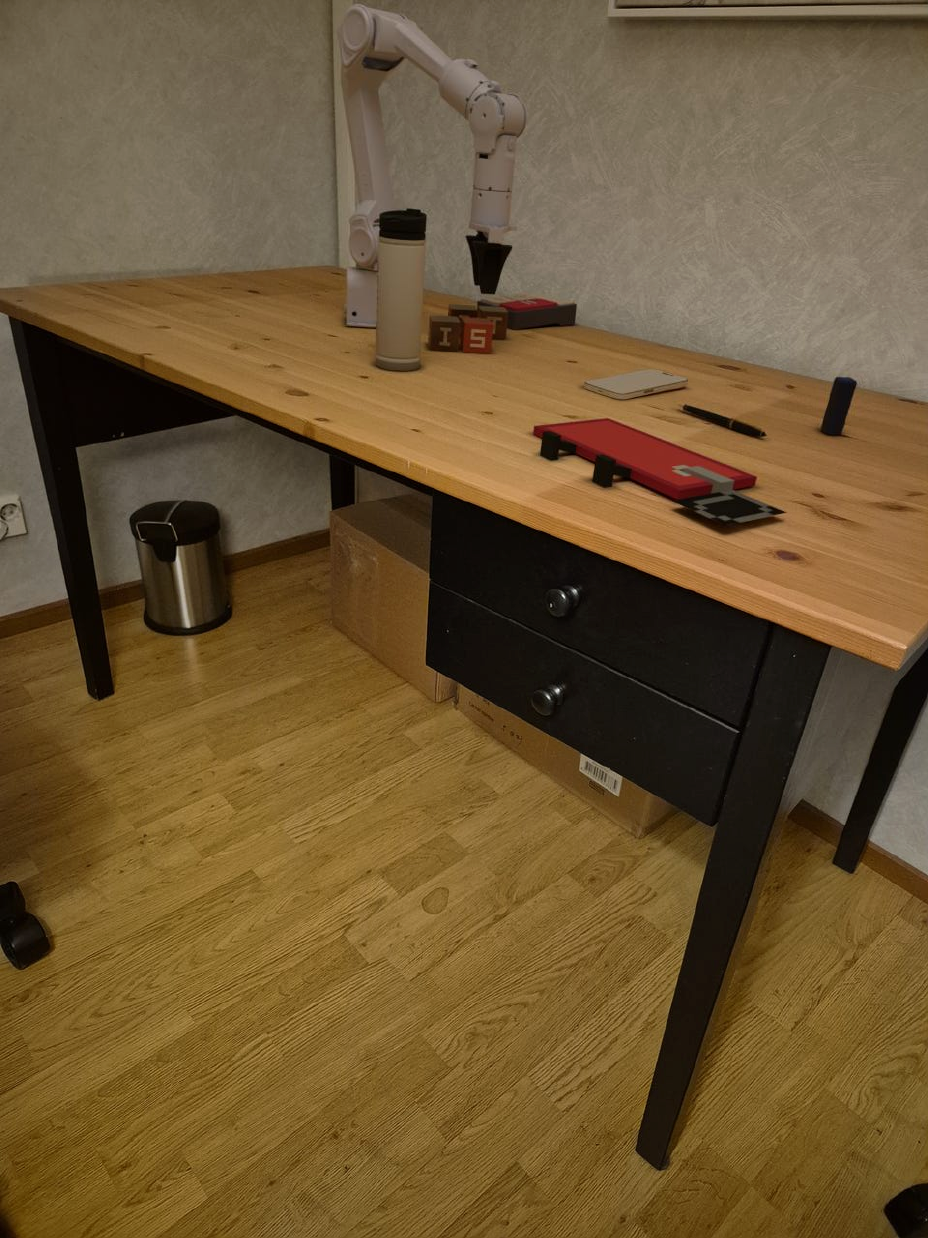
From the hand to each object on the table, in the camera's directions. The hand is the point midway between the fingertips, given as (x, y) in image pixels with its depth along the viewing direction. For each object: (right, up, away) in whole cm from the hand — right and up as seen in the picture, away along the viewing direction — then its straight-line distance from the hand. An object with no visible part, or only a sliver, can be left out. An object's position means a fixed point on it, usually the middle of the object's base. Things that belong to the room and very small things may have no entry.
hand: (484, 289), depth 131 cm
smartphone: (+21, -18, -10) cm, 29 cm away
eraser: (+43, -27, -23) cm, 56 cm away
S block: (-1, -8, +3) cm, 9 cm away
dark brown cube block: (-4, -3, +13) cm, 14 cm away
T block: (+1, -3, +13) cm, 14 cm away
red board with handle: (+16, -35, -41) cm, 57 cm away
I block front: (-6, -8, +3) cm, 11 cm away
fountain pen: (+29, -26, -23) cm, 45 cm away
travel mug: (-12, -15, -9) cm, 21 cm away
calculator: (+8, +4, +28) cm, 29 cm away
